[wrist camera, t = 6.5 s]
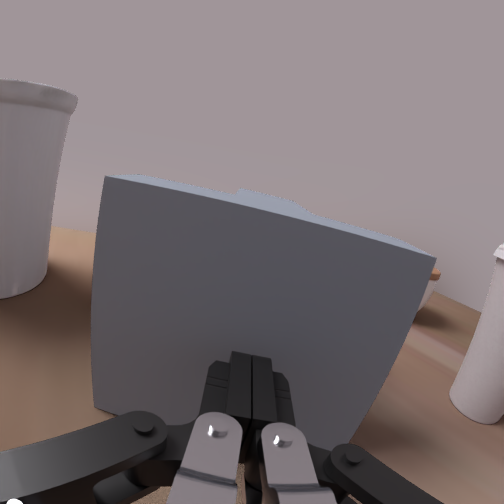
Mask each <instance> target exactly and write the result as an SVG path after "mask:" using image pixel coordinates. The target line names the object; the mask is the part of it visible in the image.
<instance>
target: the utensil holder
mask: <svg viewBox="0 0 504 504" xmlns="http://www.w3.org/2000/svg"><path fill="white" fill-rule="evenodd" d="M77 101H78V98H77V96H76V95H74V94H73V93H71V92H69V91H66V90H63V89H60V88H57V87H53V86H49V85H44V84H39V83H33V82H28V81H19V80H13V79H0V299H4V298H9V297H13V296H16V295H19V294H22V293H25V292H27V291H29V290H31V289H33V288H34V287H36V286H37V285H38V284H40V283H41V282H42V280H43V279H44V277H45V275H46V273H47V264H48V253H49V241H50V231H51V221H52V213H53V205H54V198H55V190H56V184H57V177H58V172H59V166H60V161H61V156H62V151H63V146H64V141H65V136H66V133H67V128H68V124H69V120H70V116H71V115H72V114H73V112H74V111H75V108H76V105H77Z"/></svg>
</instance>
